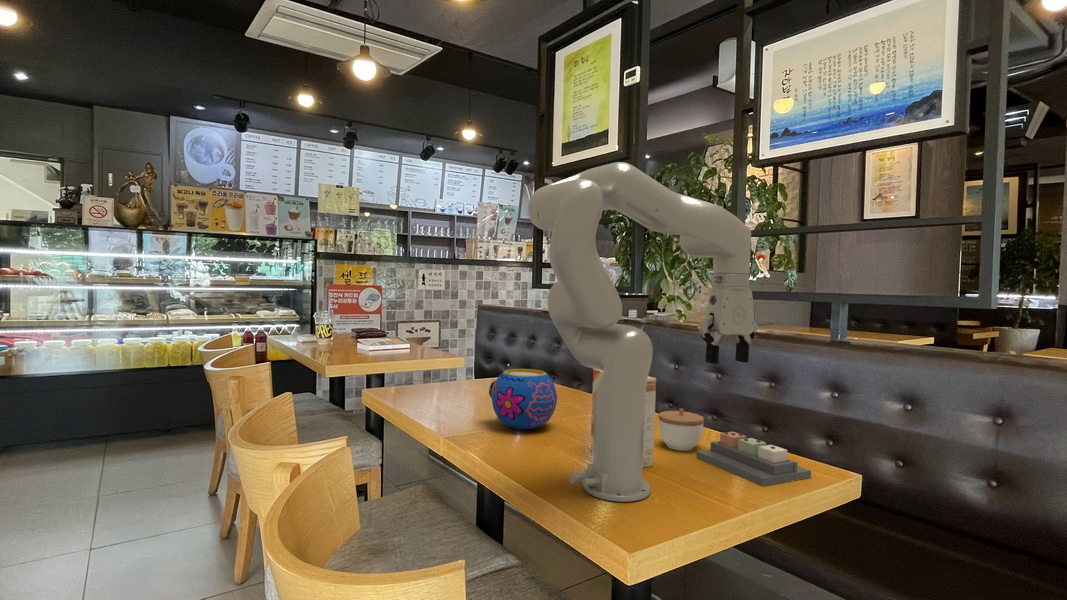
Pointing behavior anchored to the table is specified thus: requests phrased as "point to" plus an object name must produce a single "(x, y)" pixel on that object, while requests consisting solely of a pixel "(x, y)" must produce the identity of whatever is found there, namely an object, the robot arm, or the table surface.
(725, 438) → the tile three
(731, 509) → the table surface
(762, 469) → the board
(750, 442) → the tile two
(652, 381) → the coffeecake box
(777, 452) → the tile one
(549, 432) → the table surface
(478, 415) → the table surface
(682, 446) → the lidded jar
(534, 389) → the ceramic pot
